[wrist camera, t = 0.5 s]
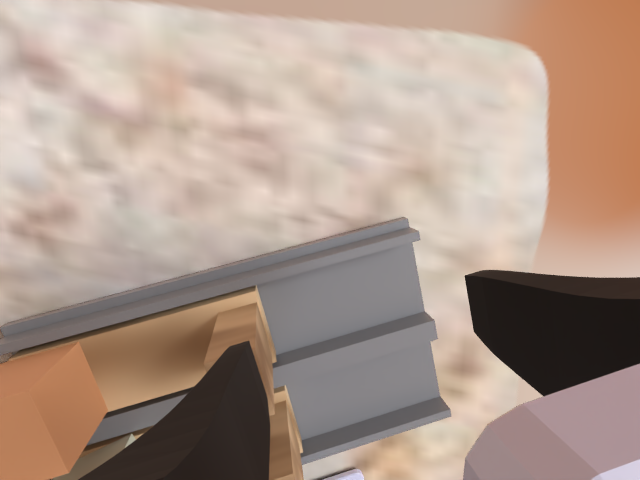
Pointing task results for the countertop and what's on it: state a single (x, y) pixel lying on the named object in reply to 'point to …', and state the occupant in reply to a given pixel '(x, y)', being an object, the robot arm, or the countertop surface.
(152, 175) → the countertop surface
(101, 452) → the sage block
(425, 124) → the countertop surface
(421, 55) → the countertop surface
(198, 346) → the oak strip
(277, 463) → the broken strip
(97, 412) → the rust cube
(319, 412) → the lane board
